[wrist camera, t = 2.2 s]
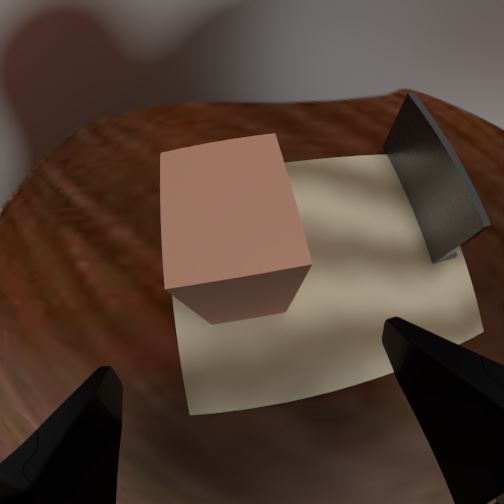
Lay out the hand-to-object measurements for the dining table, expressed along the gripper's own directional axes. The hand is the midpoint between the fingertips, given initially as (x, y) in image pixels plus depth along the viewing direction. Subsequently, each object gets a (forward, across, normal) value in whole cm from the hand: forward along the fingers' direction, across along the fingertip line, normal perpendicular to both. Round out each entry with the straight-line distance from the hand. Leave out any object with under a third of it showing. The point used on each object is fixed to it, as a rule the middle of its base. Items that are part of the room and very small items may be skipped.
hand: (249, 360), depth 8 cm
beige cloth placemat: (+12, -7, +4) cm, 14 cm away
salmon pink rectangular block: (+11, 0, +3) cm, 12 cm away
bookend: (+14, -16, 0) cm, 21 cm away
